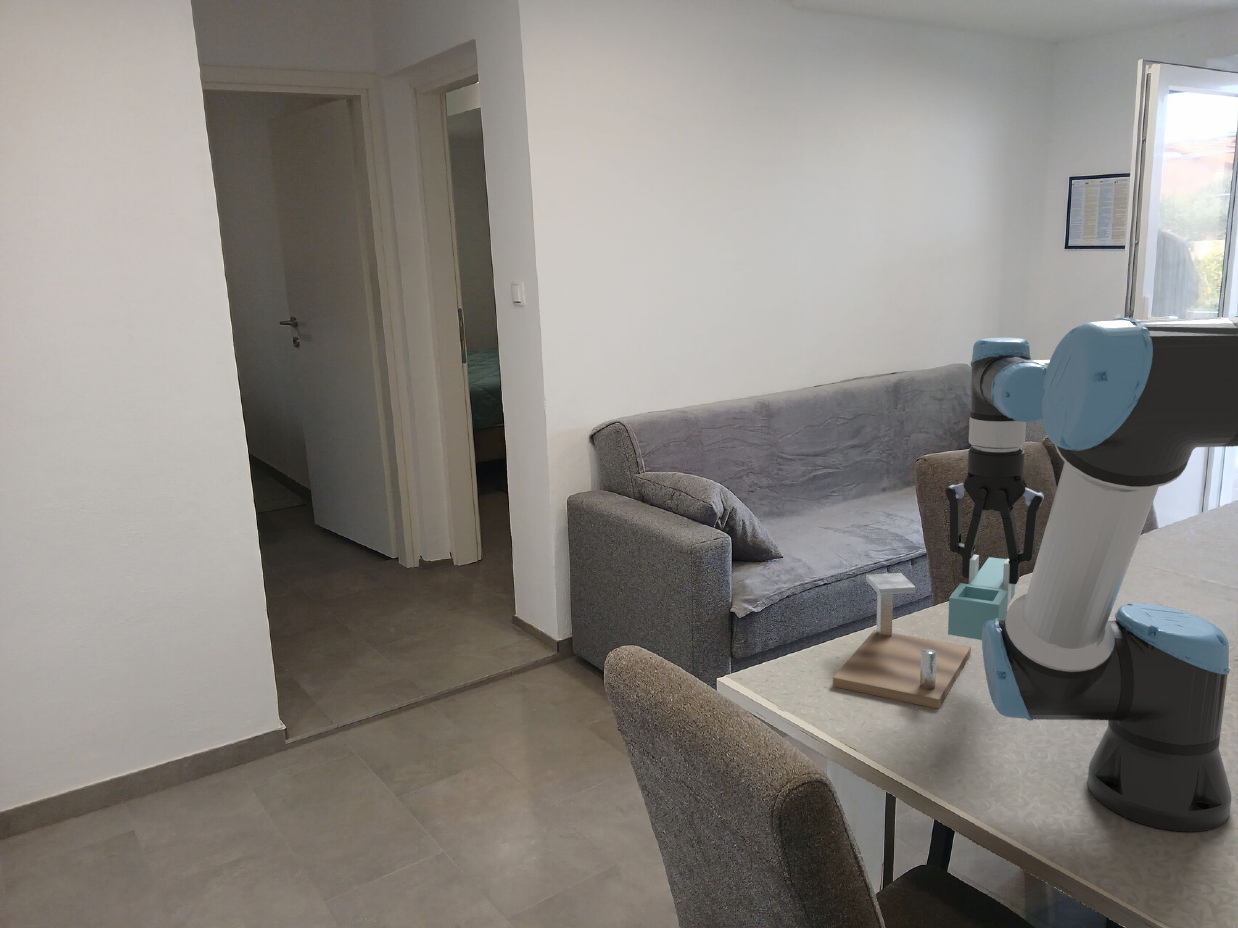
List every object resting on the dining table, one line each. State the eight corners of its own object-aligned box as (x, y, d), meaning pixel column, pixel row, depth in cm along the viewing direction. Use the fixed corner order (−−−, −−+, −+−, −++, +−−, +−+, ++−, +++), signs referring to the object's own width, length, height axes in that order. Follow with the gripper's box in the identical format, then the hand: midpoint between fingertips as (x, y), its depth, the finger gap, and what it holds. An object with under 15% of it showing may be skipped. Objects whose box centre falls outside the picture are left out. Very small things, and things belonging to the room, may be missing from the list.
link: (997, 642, 131) (999, 604, 130) (948, 634, 135) (949, 597, 134) (1023, 595, 148) (1025, 561, 147) (979, 589, 152) (980, 556, 150)
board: (938, 708, 140) (938, 699, 140) (832, 686, 148) (833, 677, 148) (970, 655, 157) (970, 646, 157) (874, 637, 166) (874, 629, 165)
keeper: (913, 655, 158) (915, 586, 155) (877, 657, 158) (879, 589, 155) (899, 638, 165) (901, 572, 162) (864, 640, 164) (866, 574, 162)
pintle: (932, 699, 143) (934, 656, 141) (918, 696, 144) (919, 653, 142) (936, 693, 144) (938, 650, 143) (921, 690, 146) (923, 648, 144)
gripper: (1065, 446, 136) (1055, 602, 141) (941, 438, 145) (936, 585, 150) (1057, 456, 130) (1047, 618, 134) (928, 447, 138) (924, 600, 143)
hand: (989, 600), depth 142 cm, fingers closed on link, 4 cm apart
